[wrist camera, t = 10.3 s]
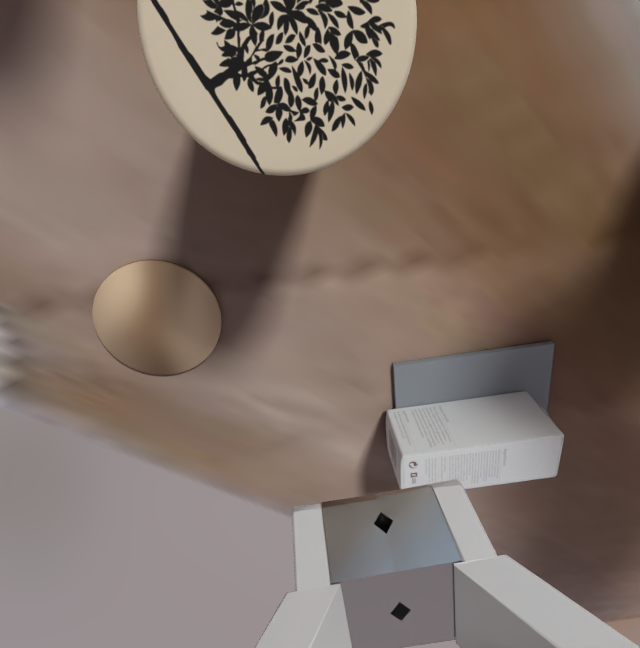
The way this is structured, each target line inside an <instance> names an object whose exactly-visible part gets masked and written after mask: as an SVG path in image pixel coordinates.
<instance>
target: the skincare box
mask: <svg viewBox="0 0 640 648" xmlns="http://www.w3.org/2000/svg"><path fill="white" fill-rule="evenodd" d="M386 438H387V447H388V453H389V456H390V459H391V463H392V466H393V469H394V472H395V475H396V479H397V482H398V485H399V489H405V488H411V487H416V486H422V485H427V484H428V485H430V484H433V483H438V482H444V481H449V480H455V479H457V480H458V481H460V482H461V484H462V486H463V488H464V489H470V488H477V487H484V486H492V485H499V484H506V483H513V482H521V481H528V480H534V479H542V478H550V477H555V476H556V475H557V471H558V467H559V462H560V457H561V451H562V447H563V440H564V434H563V433H562V432H561V431H560V430H559V429H558V427H557V426H556V425H555V424H554V423H553V421H552V420H551V419H550V417H549V415H548V414H547V412H546V411H545V410H544V409H543V408H542V407H541V406H540V405H538V404H537V403H536V402H535V401H534V399H533V398H532V397H531V396H530V395H529V394H528V392H526V391H522V392H515V393H508V394H500V395H493V396H486V397H479V398H471V399H464V400H457V401H449V402H442V403H435V404H427V405H420V406H412V407H405V408H397V409H390V410H387V413H386Z"/></svg>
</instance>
